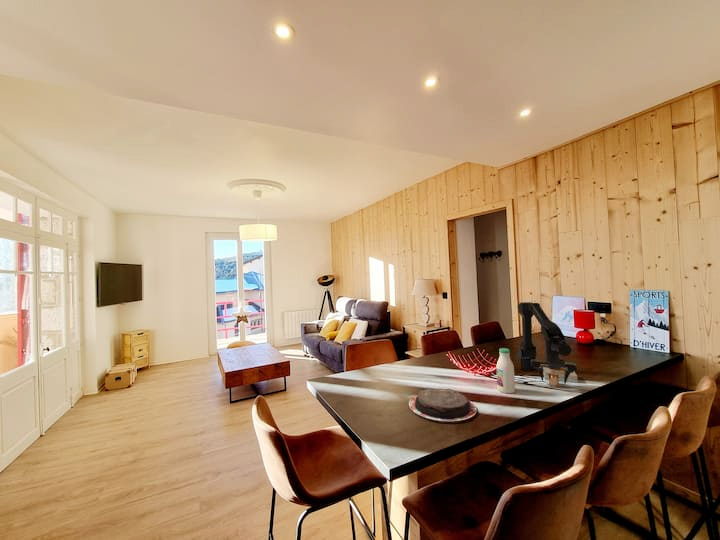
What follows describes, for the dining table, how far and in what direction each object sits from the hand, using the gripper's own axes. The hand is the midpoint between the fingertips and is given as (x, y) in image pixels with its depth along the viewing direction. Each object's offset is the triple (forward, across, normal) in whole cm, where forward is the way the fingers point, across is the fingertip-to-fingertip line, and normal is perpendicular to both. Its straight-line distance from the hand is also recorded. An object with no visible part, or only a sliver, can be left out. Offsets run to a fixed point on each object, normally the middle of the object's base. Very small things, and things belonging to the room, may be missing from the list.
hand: (553, 382), depth 144 cm
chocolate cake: (+2, -45, -47) cm, 65 cm away
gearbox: (+2, +4, +14) cm, 15 cm away
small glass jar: (+2, 0, 0) cm, 2 cm away
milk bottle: (+2, -21, -16) cm, 26 cm away
